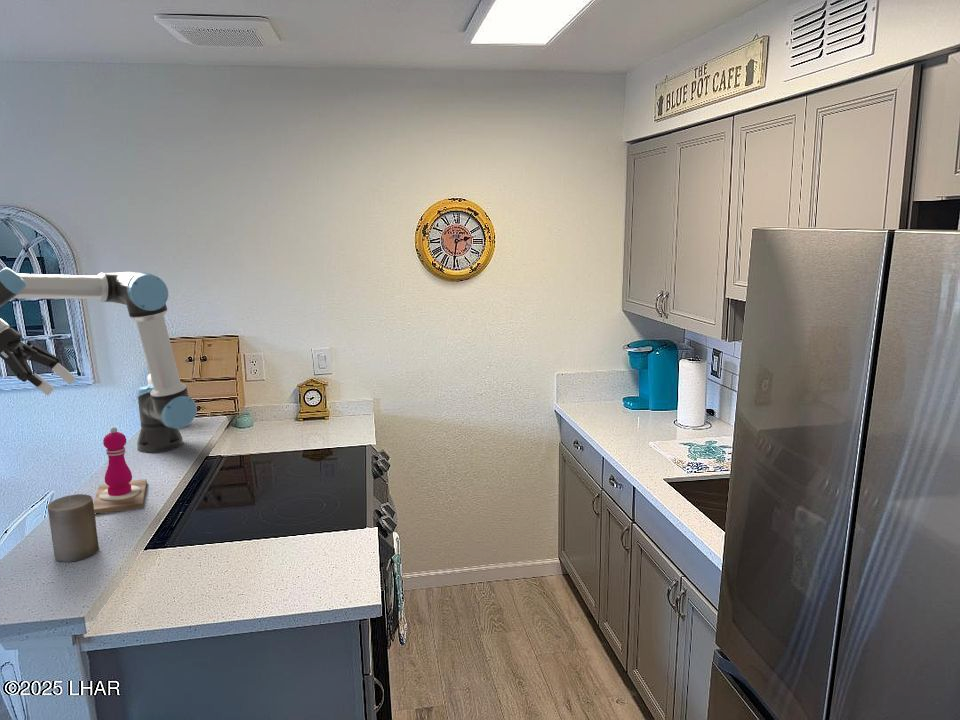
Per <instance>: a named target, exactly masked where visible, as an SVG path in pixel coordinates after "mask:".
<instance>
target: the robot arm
mask: <svg viewBox="0 0 960 720" xmlns="http://www.w3.org/2000/svg"><path fill="white" fill-rule="evenodd" d="M168 298H169V289H168V287H167V285H166V283H165V281H163V280H162V278H160V277H158V276H157V275H155V274H152V273H150V272H149V273H148V272H138V271H121V272H100V273H98V274H97V275H77V274H75V275H73V274H72V275H71V274H38V273H37V274H35V273H31V274H30V273H16V272H15V271H14V270H12V269H11V268H9V267H4V268H2V269H1V270H0V308H1V307H3V306H4V305H6V304H7V303H8V302H9V301H10V300H12V299H53V300H54V299H56V300H57V299H58V300H61V299H64V300H65V299H66V300H67V299H68V300H69V299H75V300H77V299H78V300H80V299H82V300H83V299H84V300H87V299H88V300H89V299H91V300H99V301H100V302H102V303H115V304H121V305H125V306H126V308H127V311H128V316H129V318H130V319H132V320H133V321H135V322H136V326H137V329H138V334H139V337H140V340H141V345H142V349H143V352H144V357H145V359H146V364H147V366H148V372H149V374H150V375H151V379H152V383H153V385H148V384H147V385H143V386H140V387H138V389H137V401H138V402H137V403H138V411H139V412H138V413H139V421H140V430H139V434H138V437H137V442H136V447H137V450H138V451H140V452H143V453H162V452H168V451H172V450H175V449H177V448H180V447H181V446H182V445H183V444H184V443H183V442H184V441H183V440H184V439H183V435H182V433H181V431H180V429H182V428H185V427H186V426H189V425H190V424H191V423H192V422H193V421H194V420H195V418H196V415H197V411H198V406H197V404H196V401H195V400H194V399H193V398H191V397H190V395H189V392H188V387H187V385H186V384H185V383H183V382H181V380H180V375H179V372H178V367H177V363H176V359H175V355H174V351H173V348H172V344H171V340H170V336H169V332H168V327H167V323H166V319H165V315H166V313H167V311H168V306H167V301H168V300H169V299H168ZM22 338H23V337H22V334H20V333H19V331H17V330H16V329H14V328H13V327H10V325H9V324H8V323H7V322H6V321H5V320H3V319H2V318H1V317H0V358H1V359H2V360H3V361H4V362H5V363H6V364H7V366H8V368H10V370H11V371H12V373H13V375H14V376H16V377H17V378H16V379H18V380H20V381H22V382H23V383H25V382H27V381H28V382H29V383H31V384H32V385H33V386H34V387H35V388H37V389H38V390H40V391H41V392H42V393H44V395H45V396H47V397H48V396H50V394H52V392H53V391H54V390H55V387H54V386H53V385H52V384H50V383H49V382H48V381H47V380H46V379H44V378H43V377H41V375H39V374H38V373H37V372H34V373H33V371H32V368H31V367H30V364H29V362H31V361H33V362H36V363H38V364H41V365H43V366H46V367H49V368H51V371H52V372H53V373H55V374H56V375H57V376H59V378H60V379H62V380H63V381H65V382H66V383H67V384H68V385H71V384H72V383H73V382H74V381H75V380H76V379H77V376H75V375H74V374H73V373H71V371H69V370H68V369H67V368H66V367H64V366H63V365H62V364H61V363H60V362H61V359H60V358H59V357H57V356H56V355H54V354H52V353H50V352H49V351H47V350H45V349H43V348H41V347H39V346H38V345H35V344H34V343H33V342H32V341H30V340H28V341H27V342H26V343H24V342H22V340H21V339H22Z"/></svg>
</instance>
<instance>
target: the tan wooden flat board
mask: <svg viewBox="0 0 960 720" xmlns="http://www.w3.org/2000/svg"><path fill="white" fill-rule="evenodd" d="M130 484H131V489H132V490H131V492H129V493H128V494H125V495H120V496H111V495H109V494H108V489H107V488H108V487H109V486H108V485H107V484H106V483H103V484H99V486H98V489H97V491H96V493H95V497H94V499H93V505H94V513H101V514H106V513H105V512H109V513H114V512H113V511H116V512H120V511H121V510H123V511H128V510H127V509H131V510H135V509H136V508H138V509H144V503H145V497H146V492H147V491H146V490H147V485H148V480H147V478H143V479H135V480H131V481H130ZM136 510H137V509H136ZM121 512H122V511H121Z"/></svg>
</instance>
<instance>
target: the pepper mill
mask: <svg viewBox="0 0 960 720" xmlns="http://www.w3.org/2000/svg"><path fill="white" fill-rule="evenodd" d="M102 443H103V446H104V447H105V448H106V449H105V451H106V456H107V458H108V463H107V468H106V471H105V474H104V484H107V485H108V486H109V487H108V488H107V489H108V494H109V495H111V496H120V495H125V494H128V493H129V492H131V490H132V489H131V484H130V481H133V475H132V471H131V469H130V468H129V466H128V464H127V462H126V460H125V453H126V447H124V446H125V445H126V444H127V438H126V435H125V434H124V433H122V432H119V431H118V429H117V427H115V426H113V427H111V428H110V432H109V433H107V434H106V435H104V437H103V440H102Z"/></svg>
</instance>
